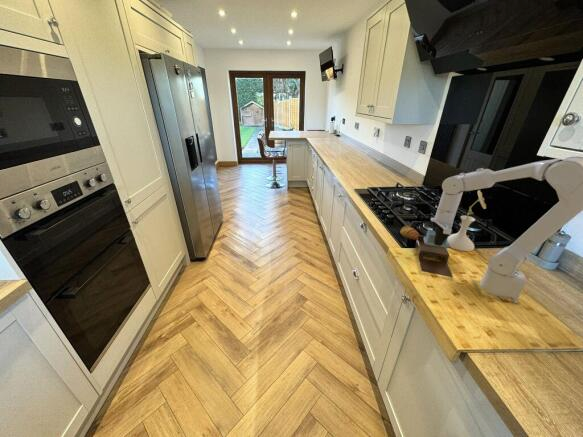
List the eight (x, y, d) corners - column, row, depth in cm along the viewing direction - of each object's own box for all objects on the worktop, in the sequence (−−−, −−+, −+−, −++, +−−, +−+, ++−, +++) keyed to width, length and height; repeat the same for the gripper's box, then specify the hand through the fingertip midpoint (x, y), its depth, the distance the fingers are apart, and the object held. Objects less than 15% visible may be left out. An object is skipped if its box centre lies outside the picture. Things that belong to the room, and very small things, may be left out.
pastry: (424, 241, 106) (426, 233, 104) (412, 243, 104) (414, 236, 102) (408, 231, 114) (410, 224, 112) (397, 233, 112) (399, 226, 110)
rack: (440, 252, 98) (445, 239, 95) (452, 279, 82) (457, 265, 80) (414, 247, 101) (418, 234, 98) (420, 273, 85) (425, 259, 82)
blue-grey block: (446, 242, 90) (449, 232, 88) (449, 248, 87) (452, 238, 85) (423, 239, 92) (426, 229, 90) (425, 244, 89) (428, 234, 87)
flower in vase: (468, 257, 94) (492, 199, 83) (437, 245, 102) (456, 191, 91) (477, 246, 102) (500, 191, 91) (448, 235, 110) (466, 184, 99)
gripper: (430, 200, 90) (421, 231, 97) (439, 215, 78) (428, 249, 84) (451, 202, 88) (441, 233, 95) (463, 219, 76) (450, 253, 82)
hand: (436, 241), depth 89 cm, fingers closed on blue-grey block, 4 cm apart
